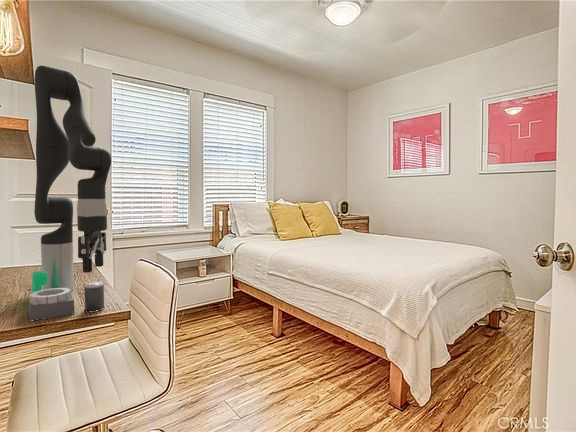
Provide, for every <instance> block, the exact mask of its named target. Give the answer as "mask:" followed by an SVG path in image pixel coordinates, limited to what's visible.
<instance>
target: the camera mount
mask: <svg viewBox="0 0 576 432" xmlns="http://www.w3.org/2000/svg"><path fill="white" fill-rule="evenodd" d="M31 275H32V276H31V293H33V292H36V291H40V290H42V285H47V281H48V279H47V272H46V271H42V270H41V271H33V272H32V274H31Z"/></svg>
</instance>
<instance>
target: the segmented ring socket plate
mask: <svg viewBox="0 0 576 432" xmlns="http://www.w3.org/2000/svg"><path fill="white" fill-rule="evenodd" d="M27 303H28V304H27V306H28V307H27V308H28V309H27V310H28V311H29V312H28V311H27V312H28V317H29V316H30V317H29V322H30V321H31V320H37V319H43V318H49V319H54V318H58V316H60V317H63V316H62V315H65V316H68V315H67V314H70V315H73V314H72V313H74V314H75V299H74V298H73V296H72V291H71V290H70V289H69V288H51V289H45V290H40V291H36V292H33V293H32V292H31V293H30V294H29V297H28V298H27ZM53 317H54V318H53ZM43 320H44V319H43Z"/></svg>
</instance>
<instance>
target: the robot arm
mask: <svg viewBox="0 0 576 432" xmlns="http://www.w3.org/2000/svg"><path fill="white" fill-rule="evenodd" d="M34 95H35V107H36V109H35V110H36V137H35V140H36V141H35V162H36V181H35V197H34V217H35V218H34V219H35V221H36V222H37V223H38V224H41V225H49V224H55V225H56V224H60V226H59V227H58V228H56V229H55V230H53V231H51V232H48V233H44V234H43V235H41V236H40V252H41V253H40V256H41V260H40V261H41V271H46V272H47V279H48V281H47V285H41V287H42V290H45V289H51V288H69V289H70V290H71V292H72V291H73V290H75V285H74V284H75V281H74V279H75V275H74V244H73V243H74V242H73V241H74V240H73V239H74V237H73V234H74V231H73V229H74V228H73V222H74V221H73V219H74V204H73V201H72V199H71V198H70V197H67V196H66V197H65V196H64V197H63V196H57V197H56V196H51V197H50V196H48V195H49V191H50V189H51V187H52V185H53V184H54V182H55V181H56V179H57V178H58V177H59V176H60V175H61V173H62V172H63V171H64V170H65V169H66V168H67V166H68V165H69V163H70V164H71V166H72V167H74V169H77V170H80V171H81V170H82V171H93V172H94V173H93V174H92V176H91V177H87V178H81V179H79V180H77V205H76V212H77V213H76V219H77V220H76V221H77V231H78V232H83V236H82V235H81V236H78V238H77V258H78V259H81V260H82V272H83V273H92V272H93V254H94V266H95V267H96V268H97V267H98V268H99V267H101V268H102V267H103V266H104V254H105V252H106V251H107V233H106V232H105V231H107V229H108V212H107V211H108V210H107V209H108V207H107V202H106V201H107V199H106V184H107V179H108V175H109V172H110V169H111V166H112V155H111V153H110V152H109V151H108V150H107V149H106V148H104V147H99V146H95V144H96V139H97V138H96V135H95V133H94V131H93V128H92V126H91V124H90V122H89V119H88V116H87V113H86V112H87V111H86V109H85V104H84V99H83V96H82V91H81V87H80V83H79V81H78V78H77V77H76V75H75V74H74V73H73V72H71V71H67V70H64V69H59V68H55V67H52V66H46V65H38V66H37V67H36V69H35V72H34ZM52 99H54V100H61V101H68V103H69V107H68V108H67V110H65V113H64V114H63V118H62V126H61V124H60V123H59V121H58V120H57V118H56V116H55V113H54V111H53V108H52V104H51V103H52V102H51V100H52Z"/></svg>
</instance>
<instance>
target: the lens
mask: <svg viewBox="0 0 576 432" xmlns="http://www.w3.org/2000/svg"><path fill="white" fill-rule="evenodd" d="M83 290H84V291H83V292H84V312H86V311H87V312H86V313H90V312H89V311H96V310H100V309H102V308H104V309H105V286H104V282H102V281H100V282H97V281H95V282H89V283H86V284H84V289H83Z"/></svg>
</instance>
